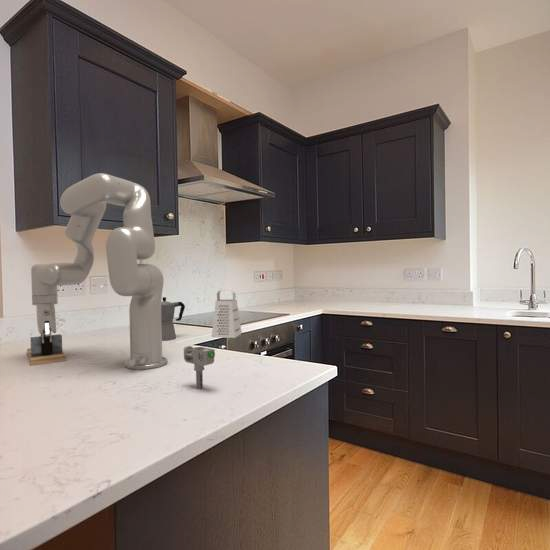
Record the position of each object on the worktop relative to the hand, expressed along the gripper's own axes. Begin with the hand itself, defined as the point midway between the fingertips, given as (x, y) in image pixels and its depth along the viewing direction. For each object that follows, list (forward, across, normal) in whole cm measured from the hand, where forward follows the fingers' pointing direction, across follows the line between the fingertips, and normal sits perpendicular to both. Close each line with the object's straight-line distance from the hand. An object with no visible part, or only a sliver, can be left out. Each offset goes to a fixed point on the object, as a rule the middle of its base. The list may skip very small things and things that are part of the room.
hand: (46, 352), depth 132 cm
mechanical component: (+2, -63, -29) cm, 70 cm away
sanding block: (0, 0, 0) cm, 0 cm away
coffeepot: (+2, +9, -46) cm, 47 cm away
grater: (+2, 0, -69) cm, 69 cm away
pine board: (+2, +4, 0) cm, 4 cm away
